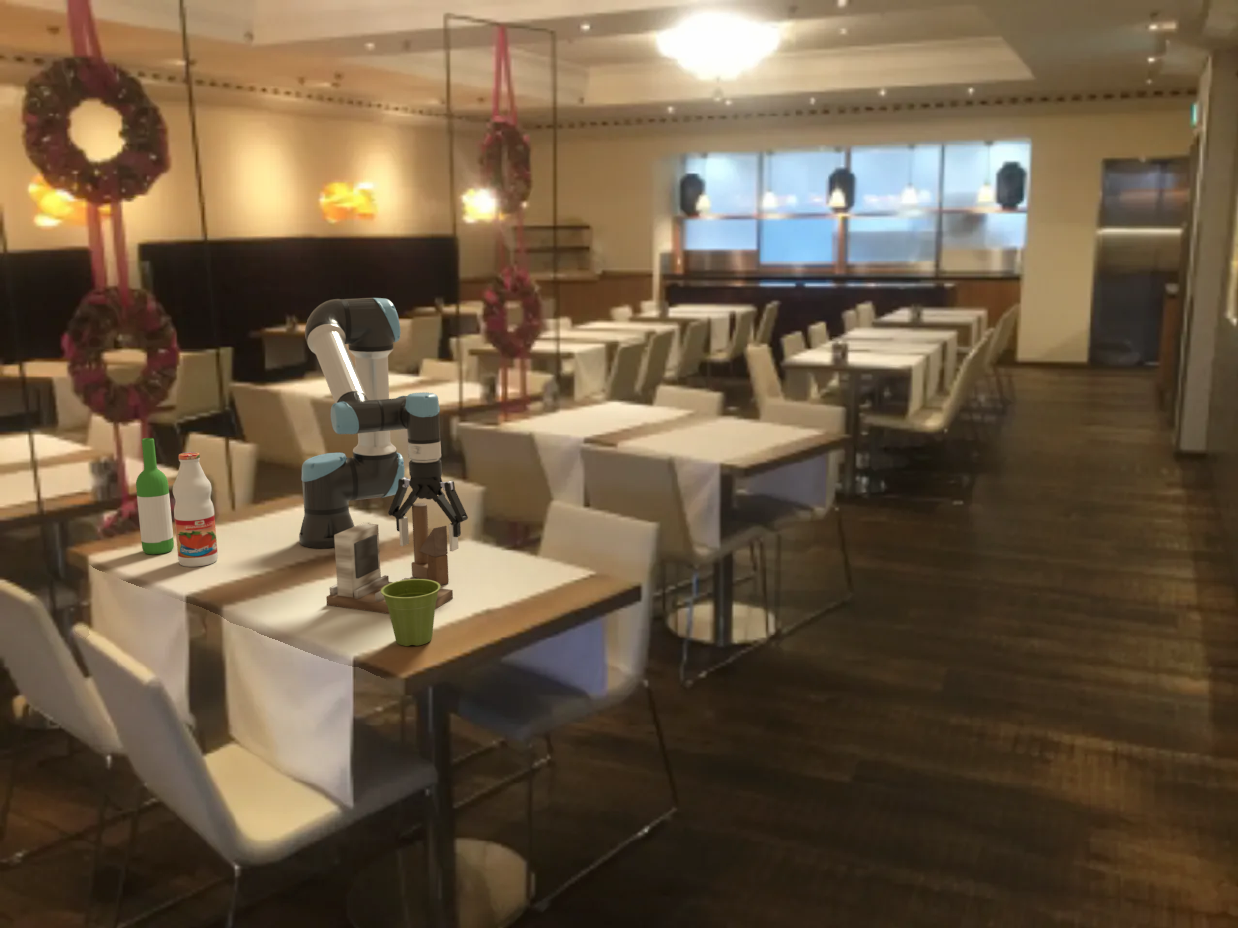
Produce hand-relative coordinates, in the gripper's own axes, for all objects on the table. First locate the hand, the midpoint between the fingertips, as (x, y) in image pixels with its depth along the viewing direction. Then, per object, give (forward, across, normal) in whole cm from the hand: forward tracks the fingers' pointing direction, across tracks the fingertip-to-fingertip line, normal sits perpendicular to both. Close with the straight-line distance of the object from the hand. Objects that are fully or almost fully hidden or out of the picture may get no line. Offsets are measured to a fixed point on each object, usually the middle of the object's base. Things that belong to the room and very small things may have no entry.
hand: (429, 547), depth 258 cm
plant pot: (+9, +18, -36) cm, 41 cm away
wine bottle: (+8, -80, -4) cm, 81 cm away
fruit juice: (+8, -63, -8) cm, 64 cm away
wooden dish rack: (+8, 0, -17) cm, 19 cm away
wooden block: (+8, 0, 0) cm, 8 cm away
